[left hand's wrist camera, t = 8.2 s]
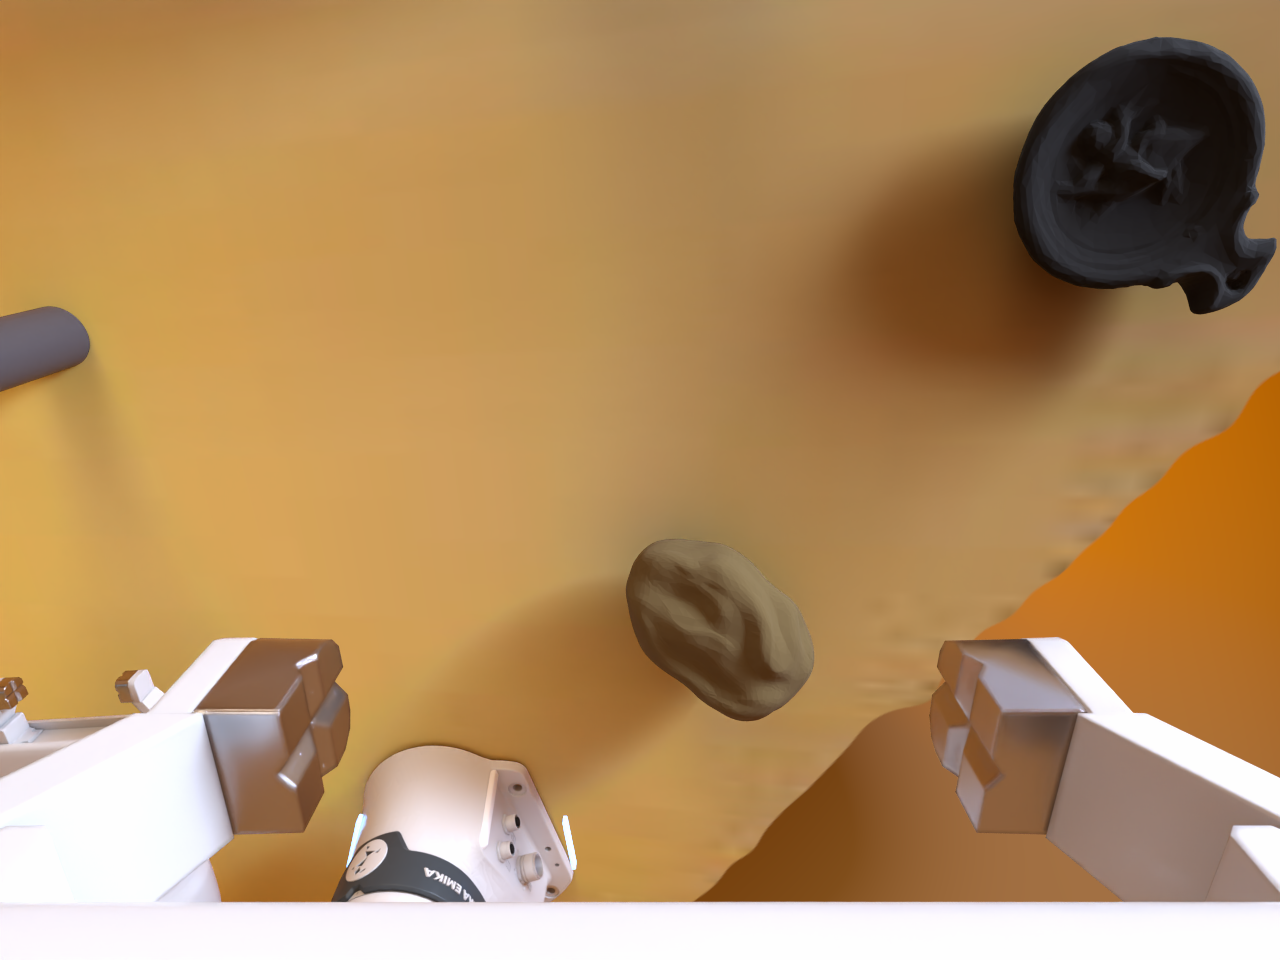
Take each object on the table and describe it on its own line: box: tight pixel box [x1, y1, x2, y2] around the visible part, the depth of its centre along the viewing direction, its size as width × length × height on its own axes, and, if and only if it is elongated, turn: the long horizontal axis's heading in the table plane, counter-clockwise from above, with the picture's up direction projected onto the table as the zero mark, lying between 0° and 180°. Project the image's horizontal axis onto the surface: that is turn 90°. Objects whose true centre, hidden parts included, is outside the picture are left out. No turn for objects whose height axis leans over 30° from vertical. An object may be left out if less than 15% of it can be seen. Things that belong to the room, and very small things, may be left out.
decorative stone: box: [626, 539, 814, 721], centre depth 60 cm, size 17×11×10 cm, turn 49°
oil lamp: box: [1013, 37, 1276, 314], centre depth 51 cm, size 15×20×5 cm
